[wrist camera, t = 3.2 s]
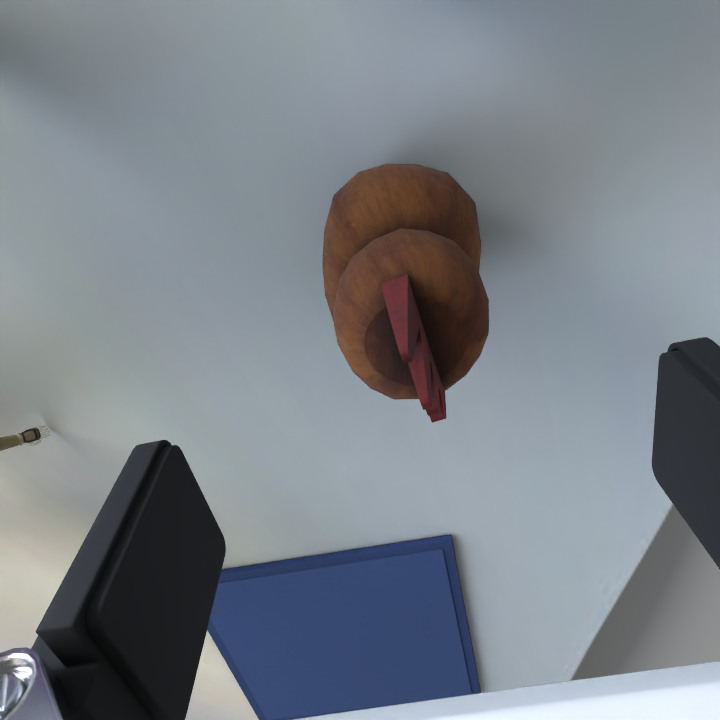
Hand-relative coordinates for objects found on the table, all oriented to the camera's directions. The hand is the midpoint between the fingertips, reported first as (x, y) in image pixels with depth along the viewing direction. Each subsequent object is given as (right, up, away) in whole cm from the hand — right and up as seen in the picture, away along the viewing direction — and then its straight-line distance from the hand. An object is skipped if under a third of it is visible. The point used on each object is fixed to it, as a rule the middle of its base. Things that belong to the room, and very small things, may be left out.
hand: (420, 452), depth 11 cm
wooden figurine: (0, +8, +14) cm, 16 cm away
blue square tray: (-2, -18, +29) cm, 34 cm away
